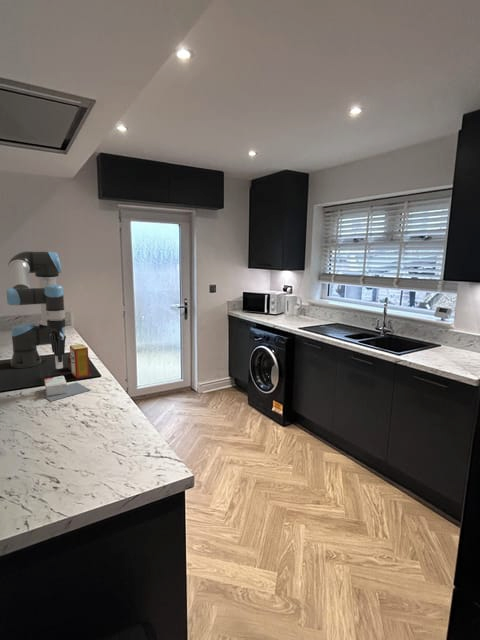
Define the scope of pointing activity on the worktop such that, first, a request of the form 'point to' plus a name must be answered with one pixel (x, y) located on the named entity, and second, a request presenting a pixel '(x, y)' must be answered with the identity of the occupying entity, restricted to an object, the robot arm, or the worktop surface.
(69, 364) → the box
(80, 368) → the baking soda box
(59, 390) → the ink box
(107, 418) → the worktop surface
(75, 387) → the mat
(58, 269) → the robot arm
